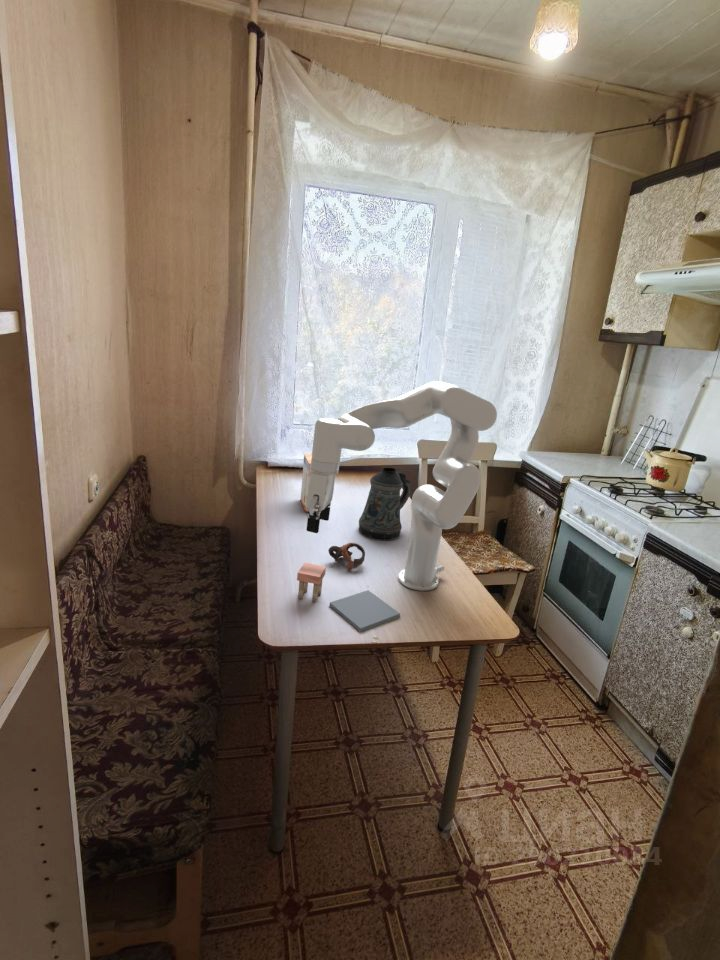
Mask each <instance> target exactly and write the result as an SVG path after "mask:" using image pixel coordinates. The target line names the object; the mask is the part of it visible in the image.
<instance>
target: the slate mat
mask: <svg viewBox="0 0 720 960" xmlns="http://www.w3.org/2000/svg"><path fill="white" fill-rule="evenodd" d="M329 607H330V608H332V609H333V610H334V611H335V612H336V613H337V614H339V615H340V616H341V617H342V618H343V619H344V620H346V621H347V622H348V623H350V625H351V626H353V627H355V629H356V630H358V631H359V632H363V631H365V630H368V629H371V628H374V627H376V626H379V625H381V624H384V623H386V622H389V621H392V620H395V619H397V618H399V617H400V616H401V613H400V612H399V611H397V610H396V609H395V608H393V607H392V606H390V605H389V603H387V602H385V601H384V600H383V599H381V598H380V597H378V596H377V595H376V594H375V593H373V592H372V591H370V590H368V589H366V590H364V591H361V592H358V593H354V594H352V595H349V596H347V597H343V598H340V599H336V600H333V601H330V602H329Z"/></svg>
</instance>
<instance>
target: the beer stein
mask: <svg viewBox="0 0 720 960" xmlns="http://www.w3.org/2000/svg"><path fill="white" fill-rule="evenodd" d="M369 482H370V489H369V492H368V496H367V499H366V502H365V506H364V508H363V512H362V513H361V516H360V517H359V520H358V530H359V532H360V534H361V535H362V536H364V537H367V538H369V539H373V540H378V541H391V540H394V539H397V538H398V537H399V536H400V533H401V530H402V529H403V527H402V523H401V510H402V508H403V507H404V506H405V505H406V503H407V501H408V500H409V498H410V496H411V491H412V487H411V481H410V480H409V479H407V476H406V474H405V473H403V472H401V471H397V470H396V468H393V467H383V468H382V470H381V471H380V472H378V473H376V474H374V475H372V476H371V477H370V480H369ZM401 490H402V492H401Z"/></svg>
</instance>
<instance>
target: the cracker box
mask: <svg viewBox="0 0 720 960" xmlns="http://www.w3.org/2000/svg"><path fill="white" fill-rule="evenodd" d="M311 458H312V453H304V454H303V465H302V466H303V467H302V479H301V488H300V490H301V491H300V502H301V505H302V507H303V510H304V512H305V513H306V512H307V513H308V512H309V508H307V507H306V501H307V494H308V488H309V482H310V478H311V474H312V471H311V470H310V467H311ZM316 507H319V506H316ZM315 511H316V513H317V512H318V511H317V510H315Z"/></svg>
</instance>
